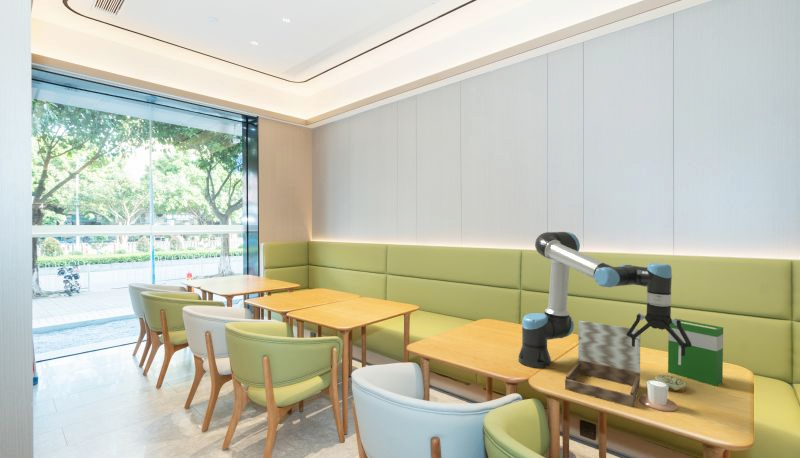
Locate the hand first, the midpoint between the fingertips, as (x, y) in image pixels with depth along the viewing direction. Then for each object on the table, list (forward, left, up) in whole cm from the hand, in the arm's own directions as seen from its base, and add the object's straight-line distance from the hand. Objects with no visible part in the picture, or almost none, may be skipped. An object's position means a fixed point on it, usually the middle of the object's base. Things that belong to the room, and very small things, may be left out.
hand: (657, 359), depth 141 cm
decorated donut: (+3, +21, -17) cm, 27 cm away
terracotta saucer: (0, 0, -17) cm, 17 cm away
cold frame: (-19, +2, -17) cm, 25 cm away
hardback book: (+11, +40, -17) cm, 45 cm away
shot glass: (0, 0, -16) cm, 16 cm away
